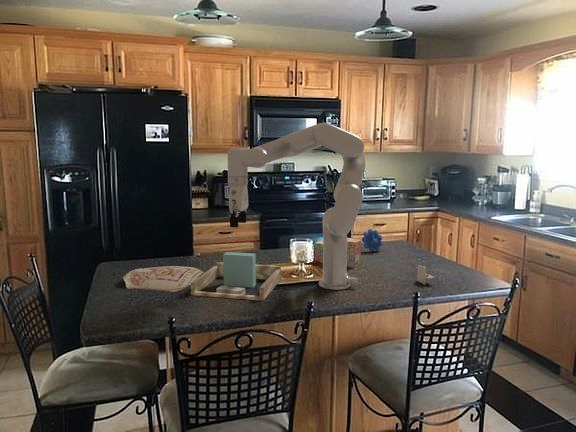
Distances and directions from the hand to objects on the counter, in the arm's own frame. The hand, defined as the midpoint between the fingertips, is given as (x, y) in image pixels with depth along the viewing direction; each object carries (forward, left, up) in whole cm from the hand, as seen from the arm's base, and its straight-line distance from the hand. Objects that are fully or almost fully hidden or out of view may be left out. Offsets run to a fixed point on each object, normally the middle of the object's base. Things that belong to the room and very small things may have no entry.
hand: (238, 224), depth 188 cm
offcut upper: (0, +10, -24) cm, 26 cm away
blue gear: (-48, -72, -26) cm, 90 cm away
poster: (+34, -4, -26) cm, 43 cm away
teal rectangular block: (0, 0, -26) cm, 26 cm away
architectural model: (-71, -24, -26) cm, 80 cm away
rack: (0, +2, -26) cm, 26 cm away
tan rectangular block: (-33, -46, -26) cm, 62 cm away
